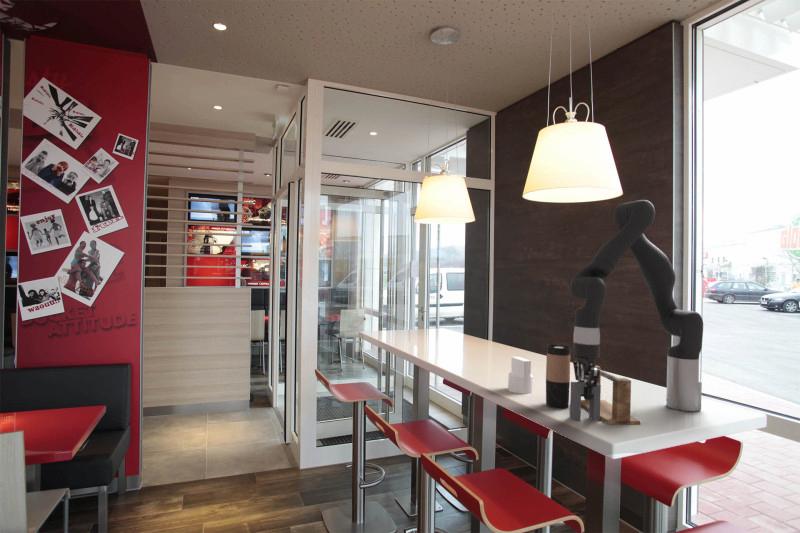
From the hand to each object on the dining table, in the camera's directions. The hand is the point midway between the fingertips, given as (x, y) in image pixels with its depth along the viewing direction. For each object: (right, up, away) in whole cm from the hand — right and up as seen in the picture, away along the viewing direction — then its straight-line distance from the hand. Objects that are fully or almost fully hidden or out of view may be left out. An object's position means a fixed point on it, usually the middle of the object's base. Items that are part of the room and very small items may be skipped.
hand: (585, 397), depth 140 cm
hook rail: (+10, -7, +7) cm, 14 cm away
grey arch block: (0, -7, 0) cm, 7 cm away
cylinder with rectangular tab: (-11, -7, +33) cm, 35 cm away
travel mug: (-4, -7, +14) cm, 16 cm away
